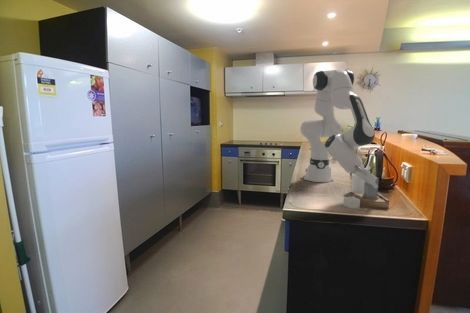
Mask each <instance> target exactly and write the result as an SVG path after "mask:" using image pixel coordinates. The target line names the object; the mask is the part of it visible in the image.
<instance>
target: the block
mask: <svg viewBox="0 0 470 313" xmlns="http://www.w3.org/2000/svg"><path fill="white" fill-rule="evenodd" d="M343 206H344V207H346V208H348V209H350V208H351V209H360V208H361V207H360V199H358V198H355V197H353V196H343Z"/></svg>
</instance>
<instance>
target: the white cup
mask: <svg viewBox="0 0 470 313" xmlns="http://www.w3.org/2000/svg"><path fill="white" fill-rule="evenodd" d="M350 180H351V184H350V185H351V186H350V187H351V193H352V194H353V192H356V193H357V194H364V182H365V181H364V180H362V179H360V178H359V177H357V176H356V175H354V174H352V173H351V179H350Z"/></svg>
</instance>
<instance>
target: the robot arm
mask: <svg viewBox="0 0 470 313" xmlns="http://www.w3.org/2000/svg"><path fill="white" fill-rule="evenodd" d="M354 82H355V76H354V73H353V71H351V70H347V69H344V70H342V69H333V70H332V69H331V70H319V71H317V72H315V74H313V78H312V87H313V88H314V89H315V90H316V95H315V102H314V112H315V113H316V114H317V115H318V116H320V117H322V119H319V120H318V119H316V120H315V119H311V120H305V121H303V122H302V123H301V125H300V133H301V135H302V136H303V137H304V138H306V140H307V141H308V143H309V146H310V158H309V165H308V166H307V168H305V172H306V173H304V176H303V180H305V181H310V182H314V183H328V182H332V181H334V178H333V177H332V168H331V167H330V159H329V157H330V156H331V157H332V158H333V159H334V160H335V161H336V162H338V164H339V166H340V167H341V168H342V169H343V170H344V171H345V172H346V173H347V174H350V173H351V175H352V174H354V175H356V176H357V177H359V178H360V179H362V180H364V181H365V182H367V183H368V184H370V185H372V186H373V187H374V188H375V189H376V188H377V187H378V188H379V184H378V185H377V184H376V183H375V181H376V178H375V177H376V176H375V177H374V176H373V175H374V174H372V173H371V172H370V171H369V170H368V169H367V168H365V167H364V164H363V161H364V160H363V159H362V158H361V157H360V156H359V155H358V154H357V153H356V152H354V151H355V150H356V149H358V148H360V147H364V146H367V145H370V144H371V143H373V141H374V139H375V137H376V136H375V135H376V134H375V133H376V132H375V129H374V127H373V126H372V124H371V121H370V120H369V117H368V114H367V112H366V108H365V107H364V103H363V101H362V99H361V97H360V96H359V95H358V94H356V93H355V92H354V87H353V86H354ZM335 108H337V109H339V110H350V111H351V113H352V116H353V119H354V125H353V126H352V127H351V128H348V129H347V130H345V131H343V124H342V123H341V122H340V121H339V120H338V119H337V117H336V116H335V113H334V112H335V111H334V110H335ZM321 138H327V139H326V141H325V142H323V141H321Z"/></svg>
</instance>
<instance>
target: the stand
mask: <svg viewBox="0 0 470 313" xmlns="http://www.w3.org/2000/svg"><path fill="white" fill-rule="evenodd" d="M362 195H363V194H357V193H356V192H353V193H352V197H355V198H358V199H360V208H367V209H369V208H371V209H389V207H390V199H388V198H386V197H385V196H383V195H382V194H381V193H380V192H378V193H377V197H378V199H366V198H365V197H363V196H362Z"/></svg>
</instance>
